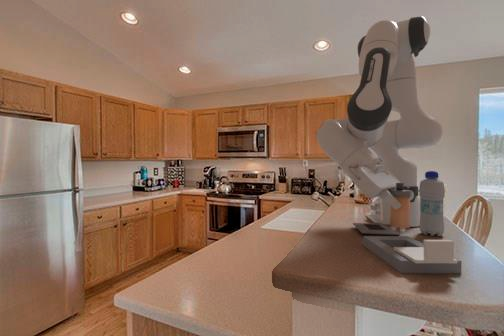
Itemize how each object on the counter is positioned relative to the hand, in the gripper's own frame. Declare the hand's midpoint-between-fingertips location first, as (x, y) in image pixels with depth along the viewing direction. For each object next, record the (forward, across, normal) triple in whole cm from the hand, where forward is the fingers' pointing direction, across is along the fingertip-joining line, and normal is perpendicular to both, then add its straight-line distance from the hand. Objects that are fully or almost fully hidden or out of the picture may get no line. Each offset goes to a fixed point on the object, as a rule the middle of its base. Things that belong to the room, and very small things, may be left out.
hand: (402, 206), depth 61 cm
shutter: (+10, -6, +3) cm, 13 cm away
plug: (+4, 0, +5) cm, 6 cm away
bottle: (+10, +27, +7) cm, 30 cm away
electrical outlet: (0, +17, +17) cm, 24 cm away
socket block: (+9, -1, +8) cm, 12 cm away
